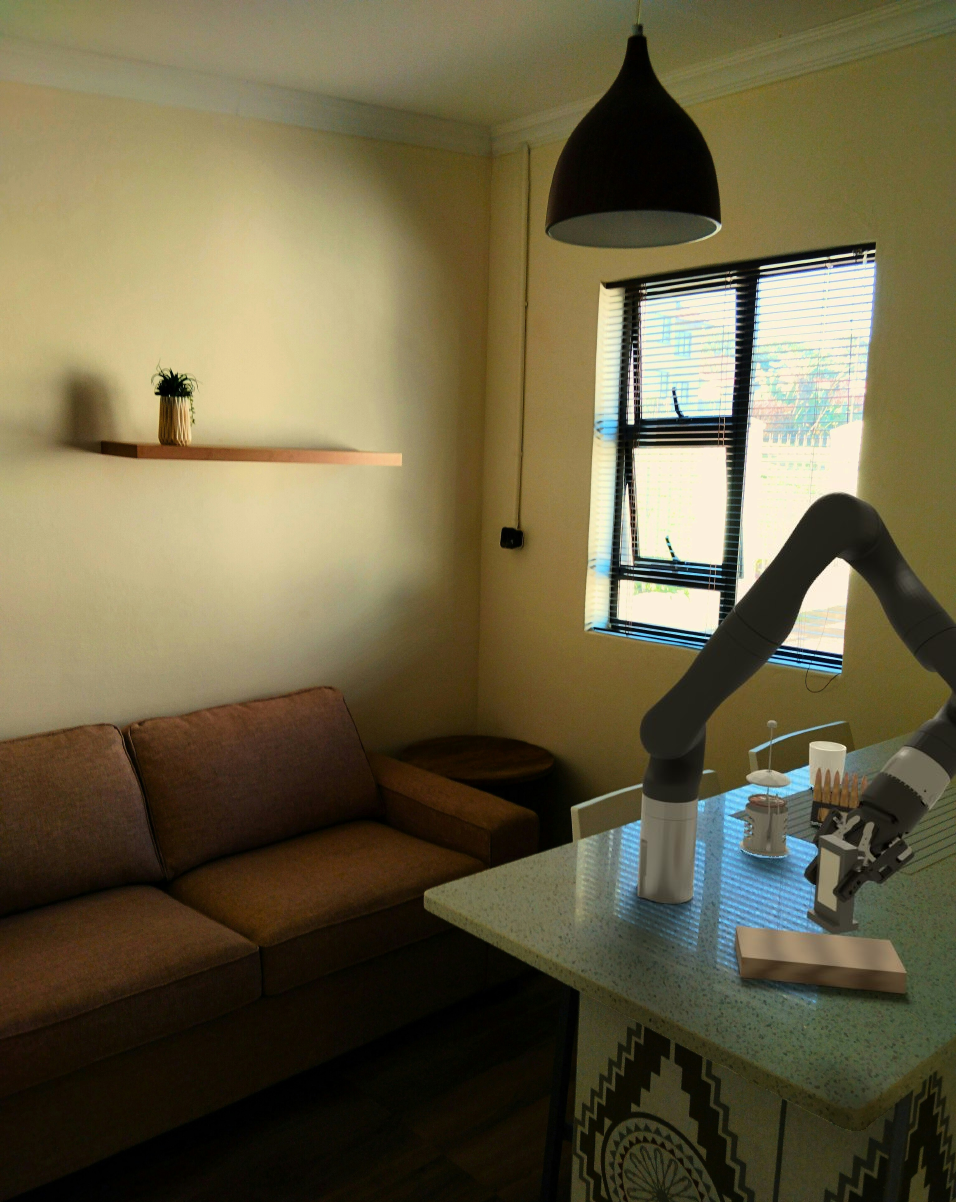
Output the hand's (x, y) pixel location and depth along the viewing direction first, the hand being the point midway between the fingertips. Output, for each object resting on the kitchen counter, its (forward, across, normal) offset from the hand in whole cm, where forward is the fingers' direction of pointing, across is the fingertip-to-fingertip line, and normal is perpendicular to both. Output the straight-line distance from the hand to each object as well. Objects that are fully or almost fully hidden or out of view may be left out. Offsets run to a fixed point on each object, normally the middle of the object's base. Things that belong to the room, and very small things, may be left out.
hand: (823, 888), depth 130 cm
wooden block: (+6, -12, +20) cm, 23 cm away
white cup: (-35, -81, +61) cm, 107 cm away
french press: (-9, -52, +35) cm, 64 cm away
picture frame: (+2, 0, +5) cm, 5 cm away
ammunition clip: (-24, -58, +50) cm, 81 cm away
